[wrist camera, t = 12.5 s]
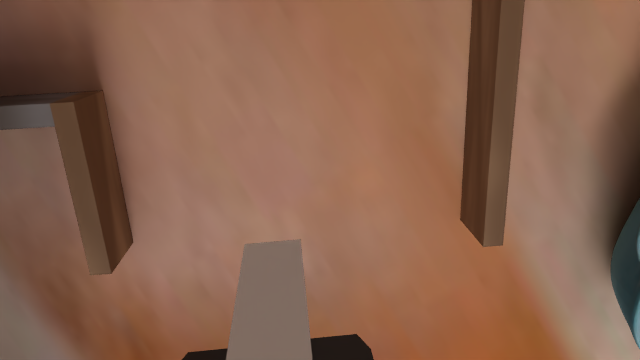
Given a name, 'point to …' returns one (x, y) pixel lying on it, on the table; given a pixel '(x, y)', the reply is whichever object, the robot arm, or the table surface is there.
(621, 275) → the casserole dish
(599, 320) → the table surface
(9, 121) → the channel
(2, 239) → the table surface
